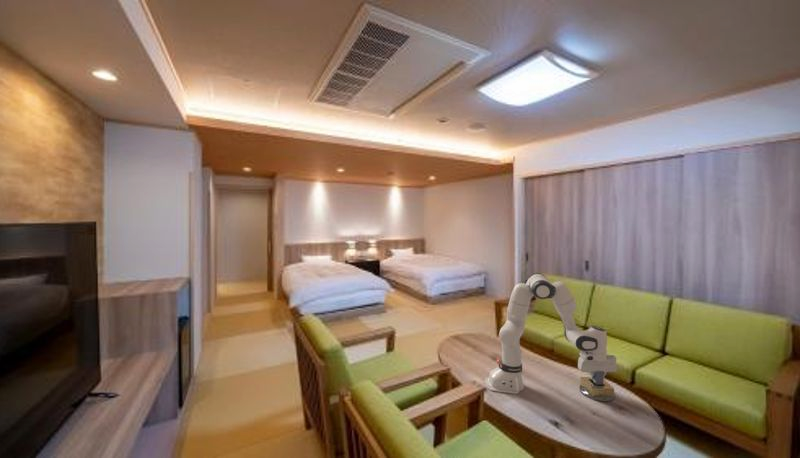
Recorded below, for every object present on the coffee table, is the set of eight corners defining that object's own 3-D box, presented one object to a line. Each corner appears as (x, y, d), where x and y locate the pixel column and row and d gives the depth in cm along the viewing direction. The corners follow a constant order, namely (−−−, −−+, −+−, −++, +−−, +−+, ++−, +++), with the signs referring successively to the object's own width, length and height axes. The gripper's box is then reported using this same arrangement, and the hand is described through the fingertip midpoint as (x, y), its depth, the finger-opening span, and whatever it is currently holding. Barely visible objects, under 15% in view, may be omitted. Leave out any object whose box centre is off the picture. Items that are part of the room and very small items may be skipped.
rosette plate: (589, 401, 171) (589, 391, 171) (573, 384, 188) (574, 374, 188) (621, 402, 170) (621, 391, 170) (602, 384, 187) (603, 374, 187)
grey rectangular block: (595, 389, 176) (596, 372, 176) (590, 384, 181) (591, 367, 181) (603, 389, 176) (603, 372, 176) (597, 384, 181) (598, 367, 181)
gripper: (612, 352, 180) (612, 375, 181) (576, 352, 181) (576, 375, 182) (619, 357, 174) (619, 381, 175) (582, 357, 175) (581, 381, 176)
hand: (597, 378), depth 179 cm, fingers closed on grey rectangular block, 4 cm apart
